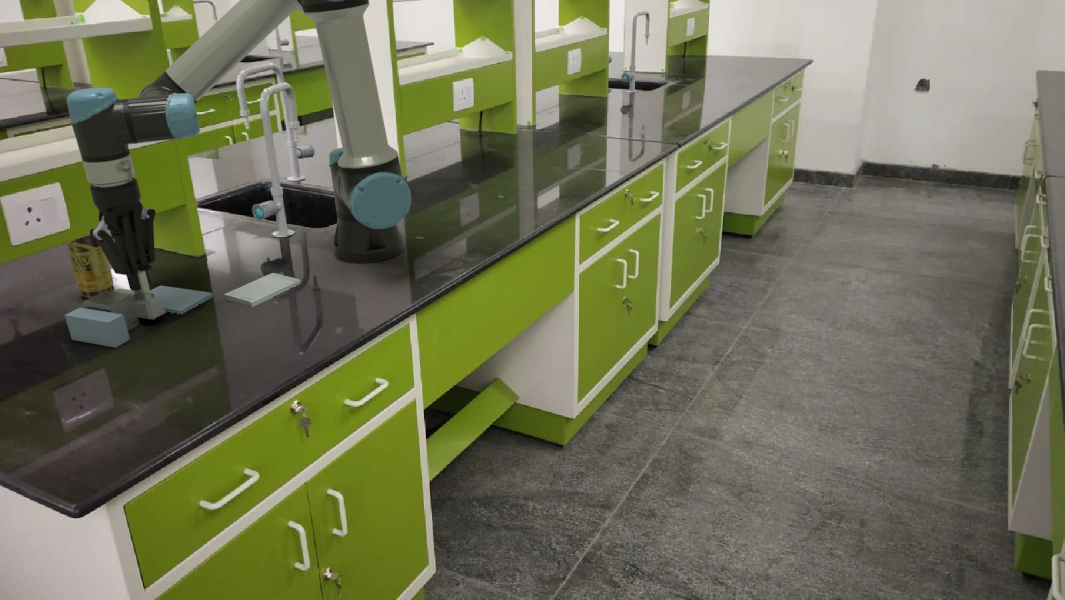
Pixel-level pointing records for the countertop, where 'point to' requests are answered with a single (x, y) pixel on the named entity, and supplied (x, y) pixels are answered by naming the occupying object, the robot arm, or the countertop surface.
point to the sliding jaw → (146, 303)
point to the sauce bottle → (90, 267)
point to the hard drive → (261, 289)
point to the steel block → (115, 306)
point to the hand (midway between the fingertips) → (145, 303)
